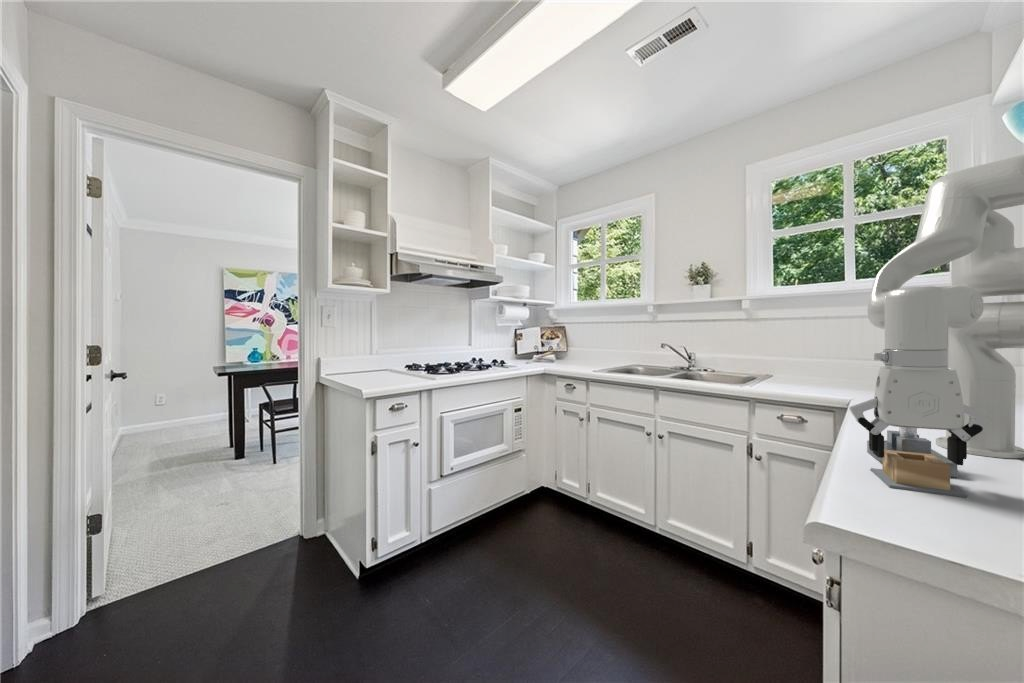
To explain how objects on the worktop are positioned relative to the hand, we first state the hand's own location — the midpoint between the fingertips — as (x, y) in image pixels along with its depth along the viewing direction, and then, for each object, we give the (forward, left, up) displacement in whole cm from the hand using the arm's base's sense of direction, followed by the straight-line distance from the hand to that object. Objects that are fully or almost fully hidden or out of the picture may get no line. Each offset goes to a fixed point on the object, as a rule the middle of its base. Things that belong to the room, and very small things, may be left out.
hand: (915, 458), depth 67 cm
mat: (0, 0, -4) cm, 4 cm away
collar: (0, 0, -4) cm, 4 cm away
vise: (-14, +3, -4) cm, 15 cm away
